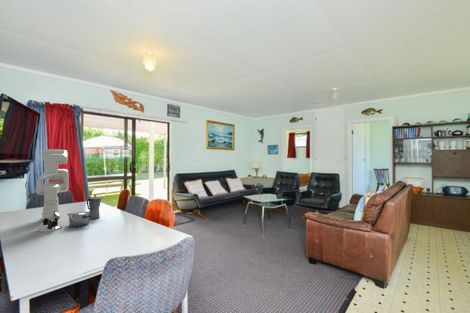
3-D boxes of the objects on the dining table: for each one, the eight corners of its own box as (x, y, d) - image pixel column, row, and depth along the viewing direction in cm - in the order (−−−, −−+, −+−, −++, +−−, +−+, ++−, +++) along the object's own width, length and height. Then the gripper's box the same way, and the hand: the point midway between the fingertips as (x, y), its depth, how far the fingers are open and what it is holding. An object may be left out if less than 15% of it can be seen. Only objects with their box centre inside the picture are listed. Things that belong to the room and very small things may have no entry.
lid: (33, 231, 165) (33, 222, 165) (54, 225, 178) (54, 217, 178) (46, 233, 160) (46, 224, 160) (66, 227, 174) (66, 219, 174)
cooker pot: (61, 226, 176) (61, 214, 176) (77, 221, 189) (77, 210, 189) (81, 228, 170) (81, 216, 170) (96, 224, 182) (96, 212, 182)
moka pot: (104, 216, 207) (104, 193, 207) (92, 220, 191) (92, 196, 191) (94, 215, 208) (95, 193, 208) (81, 220, 192) (82, 196, 192)
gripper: (37, 202, 168) (36, 225, 168) (53, 204, 163) (53, 228, 163) (48, 200, 176) (48, 223, 176) (64, 202, 170) (64, 225, 170)
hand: (50, 225), depth 169 cm, fingers open, 9 cm apart
